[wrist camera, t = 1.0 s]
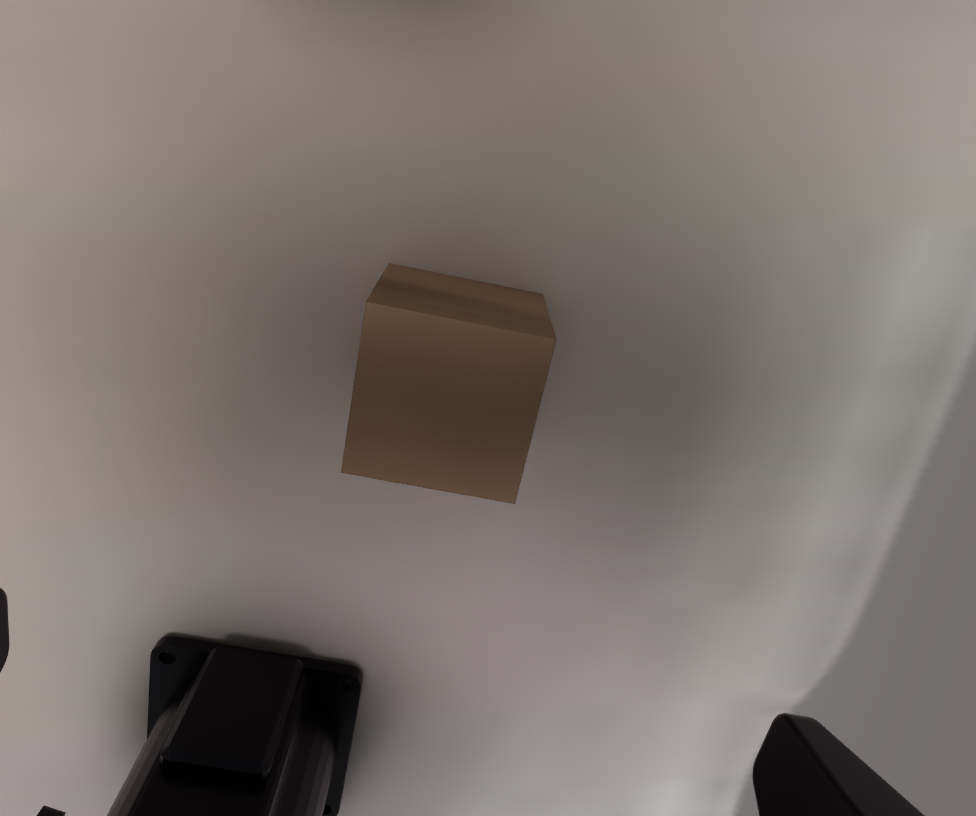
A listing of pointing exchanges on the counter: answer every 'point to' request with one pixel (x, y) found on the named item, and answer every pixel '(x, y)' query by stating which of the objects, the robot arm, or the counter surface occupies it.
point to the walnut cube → (448, 383)
